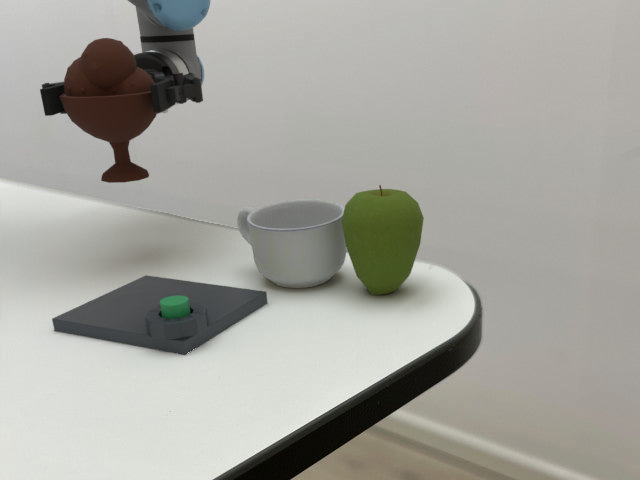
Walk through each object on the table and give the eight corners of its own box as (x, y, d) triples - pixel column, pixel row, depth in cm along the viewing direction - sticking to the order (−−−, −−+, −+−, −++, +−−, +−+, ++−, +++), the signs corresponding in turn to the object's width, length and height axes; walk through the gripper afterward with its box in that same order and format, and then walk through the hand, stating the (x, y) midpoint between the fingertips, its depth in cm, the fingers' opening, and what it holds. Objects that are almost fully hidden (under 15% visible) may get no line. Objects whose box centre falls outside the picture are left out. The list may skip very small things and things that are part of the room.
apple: (397, 311, 77) (396, 197, 72) (328, 298, 81) (322, 189, 76) (437, 285, 84) (438, 179, 79) (371, 274, 88) (368, 173, 83)
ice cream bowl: (191, 170, 91) (174, 34, 85) (130, 190, 82) (105, 39, 76) (121, 166, 96) (99, 36, 89) (55, 185, 86) (26, 41, 80)
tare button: (156, 318, 70) (153, 303, 70) (174, 309, 72) (171, 293, 72) (179, 322, 69) (176, 306, 69) (196, 312, 71) (194, 297, 71)
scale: (52, 332, 75) (46, 304, 74) (147, 286, 87) (143, 261, 86) (185, 357, 69) (181, 326, 67) (269, 304, 80) (267, 277, 79)
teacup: (368, 277, 87) (365, 207, 83) (294, 303, 80) (288, 229, 77) (290, 254, 96) (284, 191, 93) (218, 276, 89) (209, 208, 86)
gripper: (245, 108, 103) (214, 132, 83) (72, 114, 103) (0, 140, 84) (239, 47, 99) (205, 58, 80) (61, 54, 100) (-17, 67, 80)
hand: (100, 100), depth 82 cm, fingers closed on ice cream bowl, 11 cm apart
